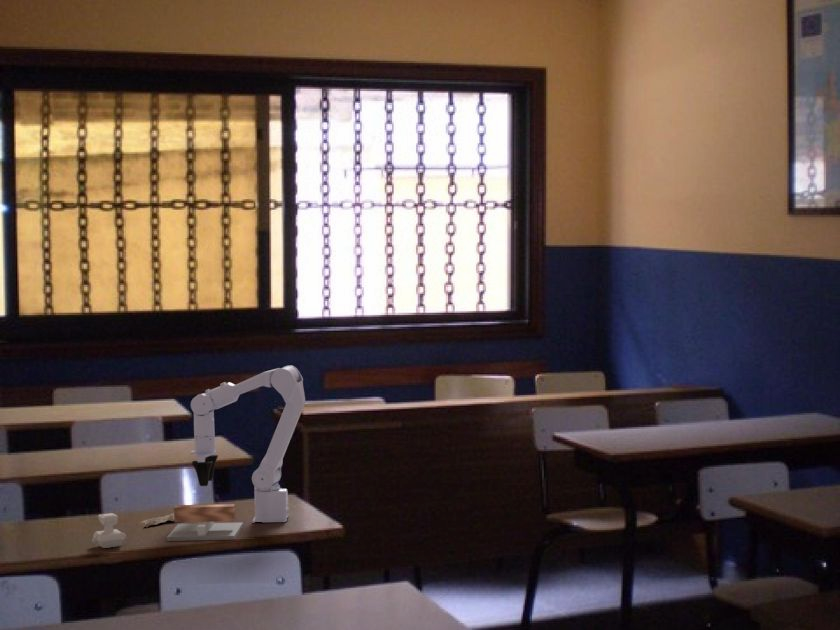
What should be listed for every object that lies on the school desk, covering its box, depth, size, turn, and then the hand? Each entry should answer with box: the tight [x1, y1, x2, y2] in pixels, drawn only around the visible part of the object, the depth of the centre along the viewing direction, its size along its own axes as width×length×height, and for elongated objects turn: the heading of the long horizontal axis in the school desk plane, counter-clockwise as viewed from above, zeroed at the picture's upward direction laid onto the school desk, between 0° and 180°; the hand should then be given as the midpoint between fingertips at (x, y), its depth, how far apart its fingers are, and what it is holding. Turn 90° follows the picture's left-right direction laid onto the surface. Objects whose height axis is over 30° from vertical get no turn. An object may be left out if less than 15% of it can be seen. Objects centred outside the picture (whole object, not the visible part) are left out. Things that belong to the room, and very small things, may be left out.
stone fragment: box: [139, 511, 175, 528], centre depth 364 cm, size 25×3×10 cm
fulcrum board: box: [166, 522, 244, 542], centre depth 347 cm, size 18×16×4 cm
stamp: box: [91, 512, 127, 549], centre depth 334 cm, size 9×7×8 cm
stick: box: [173, 503, 236, 523], centre depth 346 cm, size 16×3×4 cm, turn 89°
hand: (206, 483), depth 363 cm, fingers open, 7 cm apart
